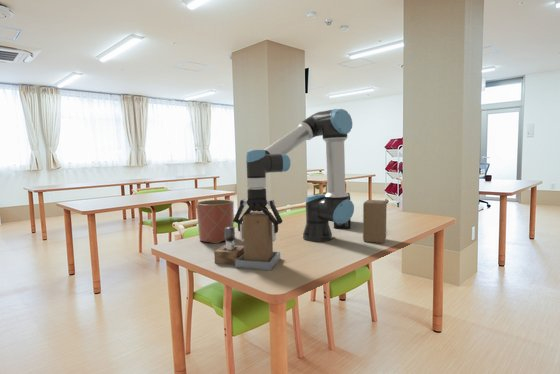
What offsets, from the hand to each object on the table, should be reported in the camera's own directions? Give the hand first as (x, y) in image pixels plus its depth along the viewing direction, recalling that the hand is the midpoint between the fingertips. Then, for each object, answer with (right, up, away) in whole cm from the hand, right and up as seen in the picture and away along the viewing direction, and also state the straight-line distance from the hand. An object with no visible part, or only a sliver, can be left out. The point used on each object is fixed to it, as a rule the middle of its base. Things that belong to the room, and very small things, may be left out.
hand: (258, 240), depth 136 cm
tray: (0, -10, +1) cm, 10 cm away
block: (+57, -6, +32) cm, 65 cm away
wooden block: (0, -9, +1) cm, 9 cm away
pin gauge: (-12, -9, +6) cm, 16 cm away
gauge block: (-12, -9, +6) cm, 16 cm away
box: (+47, -2, +70) cm, 85 cm away
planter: (-25, -6, +41) cm, 48 cm away
